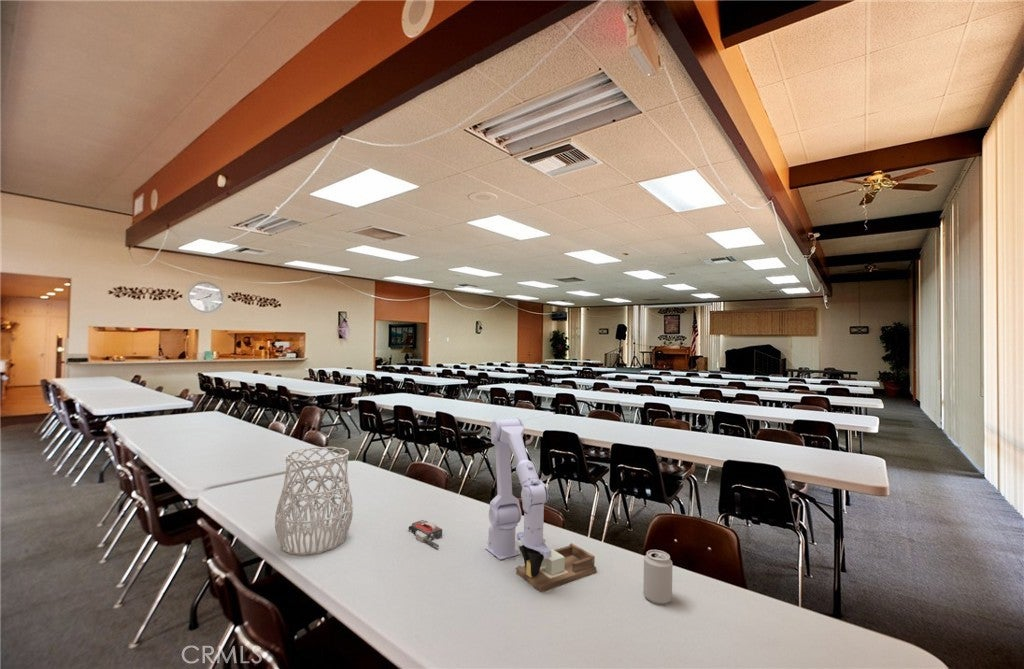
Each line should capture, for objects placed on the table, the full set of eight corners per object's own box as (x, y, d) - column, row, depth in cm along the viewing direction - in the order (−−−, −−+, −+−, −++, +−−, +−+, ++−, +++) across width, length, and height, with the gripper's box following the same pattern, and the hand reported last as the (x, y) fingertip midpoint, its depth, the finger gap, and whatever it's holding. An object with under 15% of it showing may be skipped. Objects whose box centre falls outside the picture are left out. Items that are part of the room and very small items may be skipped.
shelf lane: (516, 573, 131) (516, 558, 131) (570, 556, 143) (570, 542, 143) (540, 592, 121) (541, 575, 121) (596, 572, 133) (596, 557, 133)
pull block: (522, 571, 128) (522, 557, 129) (551, 562, 135) (552, 549, 135) (534, 580, 123) (534, 566, 124) (564, 570, 130) (564, 556, 130)
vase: (323, 522, 165) (326, 442, 166) (366, 537, 152) (370, 451, 153) (258, 545, 144) (263, 454, 145) (302, 565, 131) (307, 465, 133)
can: (649, 587, 125) (650, 545, 125) (675, 597, 120) (676, 553, 121) (638, 598, 119) (639, 554, 120) (666, 609, 114) (666, 563, 115)
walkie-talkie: (403, 532, 158) (435, 551, 144) (403, 520, 158) (435, 538, 144) (423, 526, 164) (456, 543, 150) (423, 514, 164) (456, 531, 150)
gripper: (560, 532, 123) (558, 580, 123) (529, 515, 136) (528, 559, 135) (540, 537, 120) (539, 587, 119) (511, 519, 132) (509, 565, 131)
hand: (532, 573), depth 127 cm, fingers closed on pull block, 2 cm apart
